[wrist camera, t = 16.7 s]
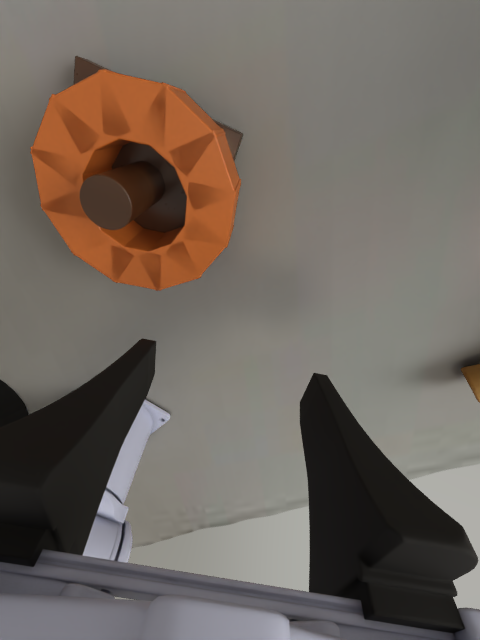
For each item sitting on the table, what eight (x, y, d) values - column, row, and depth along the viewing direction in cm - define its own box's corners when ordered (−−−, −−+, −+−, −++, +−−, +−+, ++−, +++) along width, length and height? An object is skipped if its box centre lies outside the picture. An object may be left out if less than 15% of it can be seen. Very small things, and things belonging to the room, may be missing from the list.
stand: (197, 267, 22) (175, 314, 17) (75, 218, 21) (7, 253, 15) (243, 133, 17) (233, 139, 12) (86, 59, 16) (-7, 27, 10)
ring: (178, 292, 22) (165, 317, 19) (46, 196, 19) (7, 209, 16) (274, 179, 17) (275, 190, 14) (119, 26, 14) (82, 1, 11)
